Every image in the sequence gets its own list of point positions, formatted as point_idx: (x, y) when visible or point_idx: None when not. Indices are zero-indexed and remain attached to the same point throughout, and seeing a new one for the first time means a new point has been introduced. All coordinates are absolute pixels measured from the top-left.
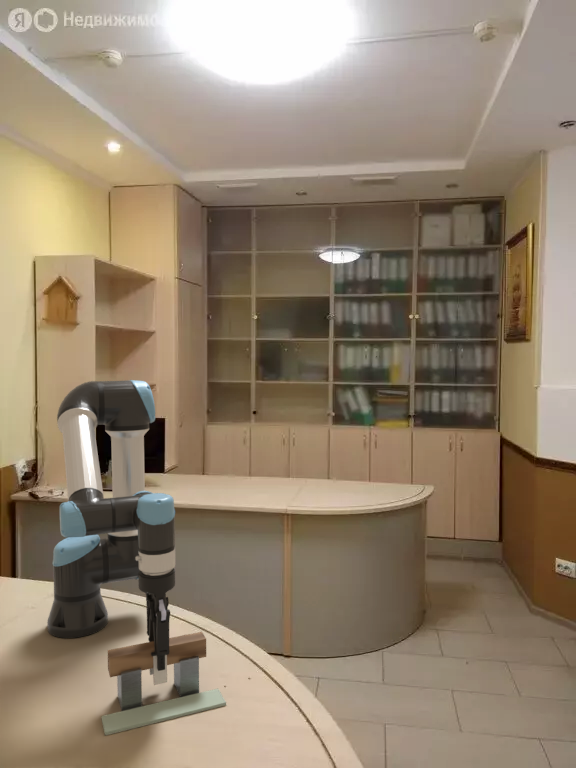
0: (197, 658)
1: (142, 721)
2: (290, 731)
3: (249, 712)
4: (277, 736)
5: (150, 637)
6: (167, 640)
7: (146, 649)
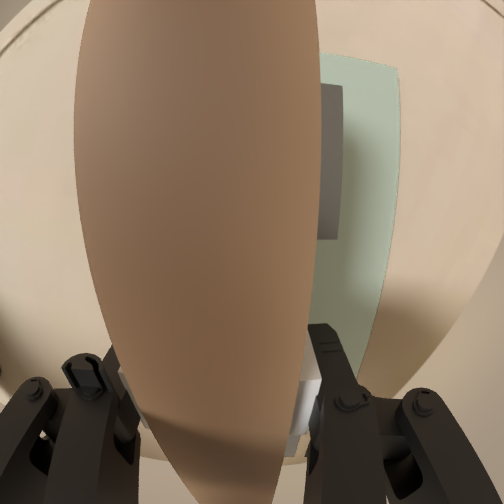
0: (340, 98)
1: (366, 329)
2: (492, 33)
3: (431, 41)
4: (500, 60)
5: (137, 460)
6: (478, 482)
7: (263, 471)
